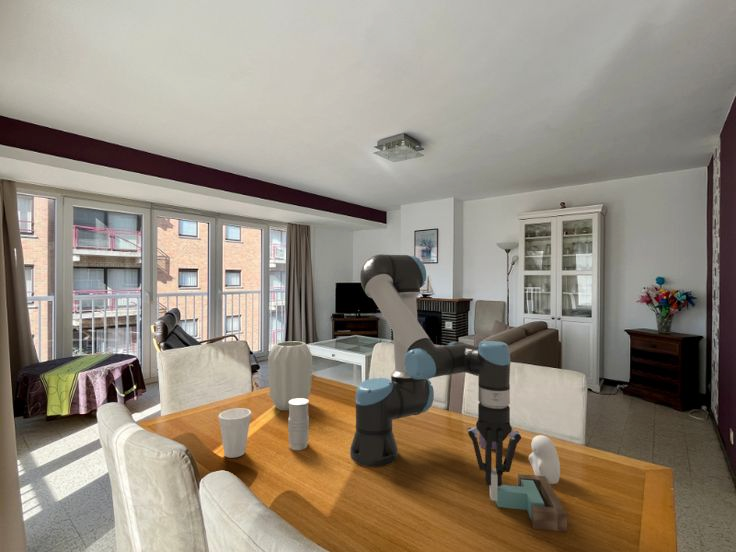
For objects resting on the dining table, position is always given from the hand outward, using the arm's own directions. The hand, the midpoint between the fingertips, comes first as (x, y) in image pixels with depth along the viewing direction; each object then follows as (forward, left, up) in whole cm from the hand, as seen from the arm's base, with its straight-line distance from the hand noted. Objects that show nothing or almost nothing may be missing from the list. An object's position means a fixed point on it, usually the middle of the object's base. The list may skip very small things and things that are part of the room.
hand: (493, 497), depth 94 cm
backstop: (+11, 0, -2) cm, 11 cm away
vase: (-76, +58, -2) cm, 96 cm away
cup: (-77, +13, -2) cm, 79 cm away
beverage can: (+4, +33, -2) cm, 33 cm away
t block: (+6, 0, -2) cm, 6 cm away
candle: (-59, +22, -2) cm, 63 cm away
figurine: (+17, +15, -2) cm, 22 cm away
